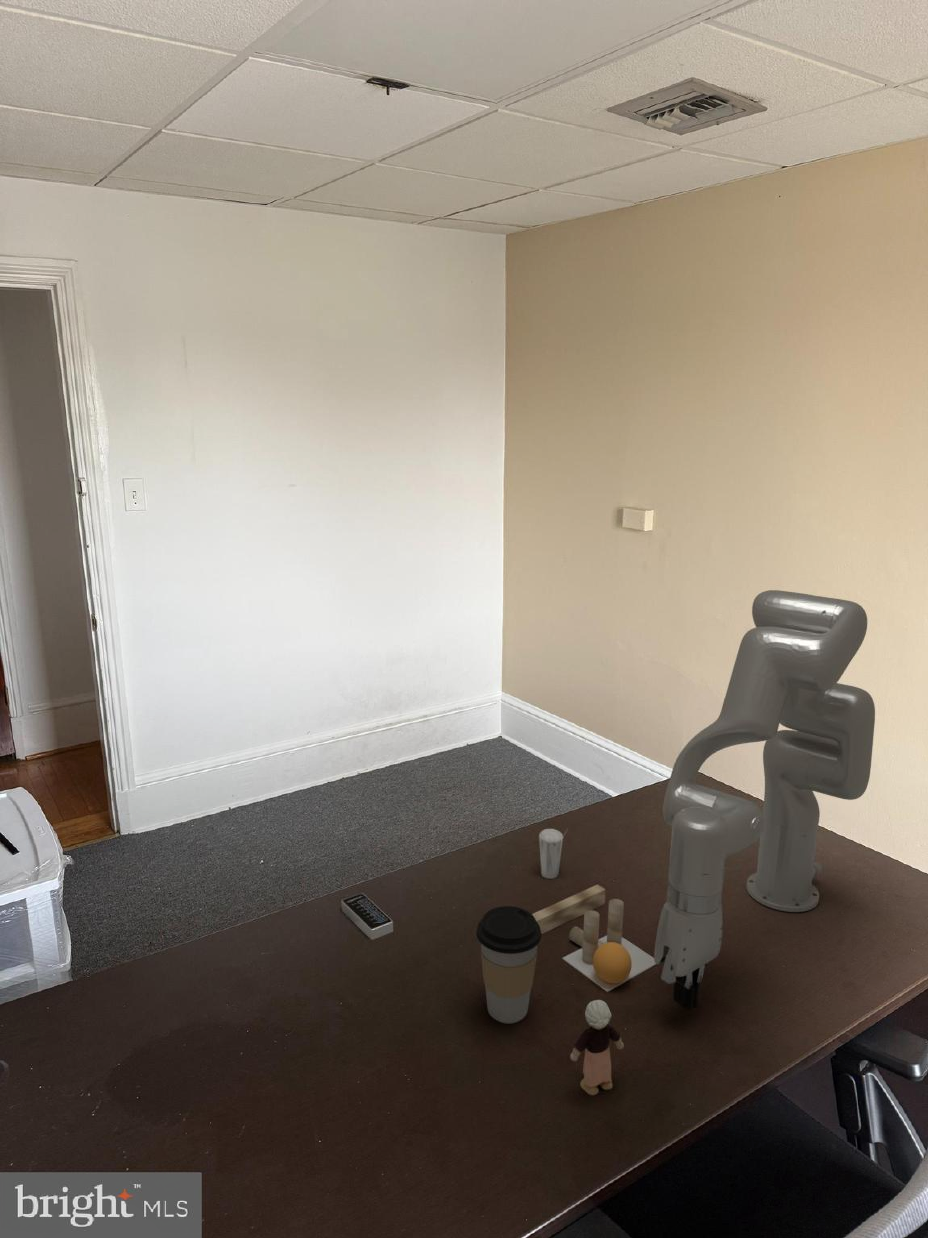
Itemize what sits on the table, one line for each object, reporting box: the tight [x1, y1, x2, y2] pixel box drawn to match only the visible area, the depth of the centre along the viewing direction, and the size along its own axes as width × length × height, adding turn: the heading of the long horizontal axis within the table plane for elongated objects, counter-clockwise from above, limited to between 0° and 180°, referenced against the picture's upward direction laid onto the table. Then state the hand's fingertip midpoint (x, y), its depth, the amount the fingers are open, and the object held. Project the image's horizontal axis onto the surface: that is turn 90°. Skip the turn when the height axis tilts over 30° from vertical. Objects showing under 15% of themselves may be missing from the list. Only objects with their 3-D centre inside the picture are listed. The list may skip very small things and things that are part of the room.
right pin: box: [606, 898, 625, 945], centre depth 141 cm, size 2×2×8 cm
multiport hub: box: [341, 892, 394, 941], centre depth 149 cm, size 4×11×2 cm, turn 36°
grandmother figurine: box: [569, 999, 625, 1096], centre depth 112 cm, size 8×4×13 cm, turn 123°
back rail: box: [531, 884, 606, 935], centre depth 149 cm, size 22×2×3 cm, turn 127°
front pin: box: [568, 926, 604, 948], centre depth 141 cm, size 2×2×8 cm
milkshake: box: [538, 828, 568, 880], centre depth 163 cm, size 4×5×10 cm
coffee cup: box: [475, 905, 542, 1025], centre depth 126 cm, size 9×9×15 cm
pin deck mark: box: [562, 935, 657, 993], centre depth 139 cm, size 12×10×1 cm
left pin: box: [582, 910, 600, 965], centre depth 138 cm, size 2×2×8 cm
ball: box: [593, 942, 632, 983], centre depth 134 cm, size 6×6×6 cm
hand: (685, 1003), depth 127 cm, fingers closed
